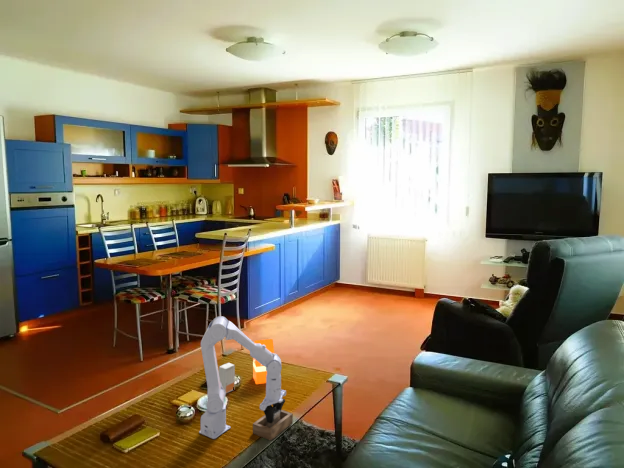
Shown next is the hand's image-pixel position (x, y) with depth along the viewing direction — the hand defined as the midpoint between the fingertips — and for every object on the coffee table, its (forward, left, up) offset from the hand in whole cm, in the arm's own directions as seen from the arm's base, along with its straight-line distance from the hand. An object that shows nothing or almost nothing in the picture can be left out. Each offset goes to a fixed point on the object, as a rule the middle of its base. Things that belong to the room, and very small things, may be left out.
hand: (273, 419), depth 183 cm
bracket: (0, 0, -2) cm, 2 cm away
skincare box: (+13, +35, -4) cm, 38 cm away
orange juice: (+31, +28, -4) cm, 42 cm away
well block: (0, 0, -4) cm, 4 cm away
